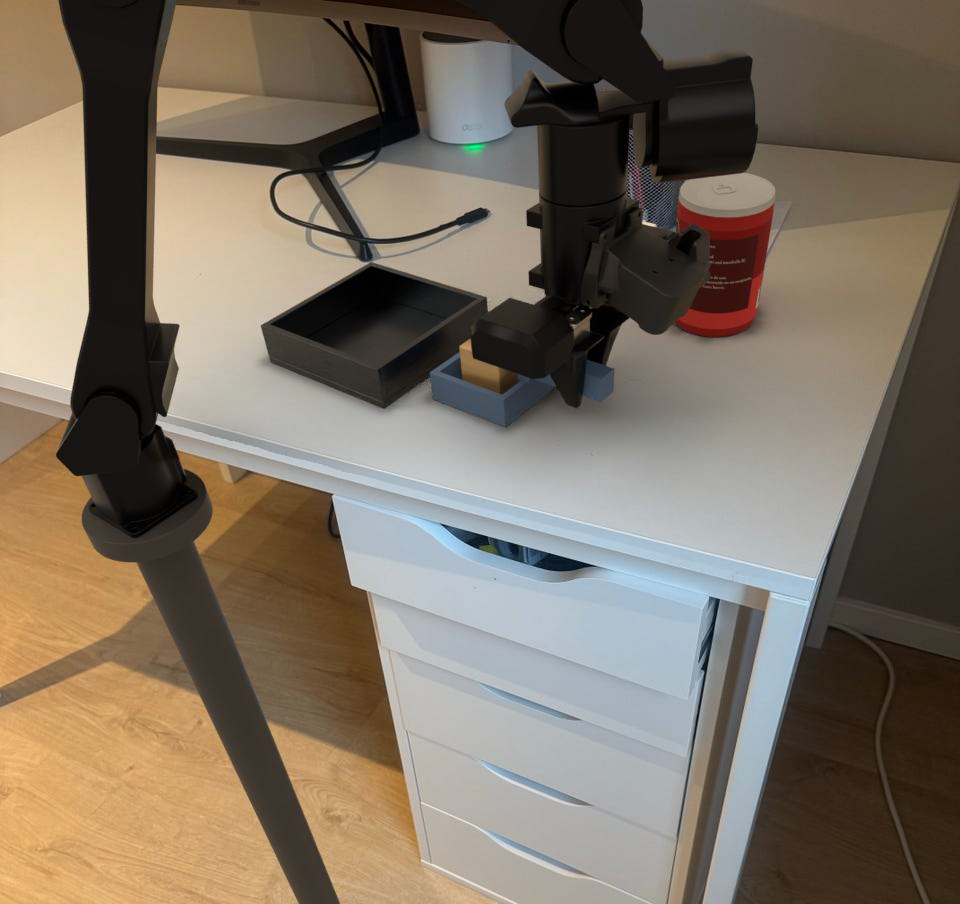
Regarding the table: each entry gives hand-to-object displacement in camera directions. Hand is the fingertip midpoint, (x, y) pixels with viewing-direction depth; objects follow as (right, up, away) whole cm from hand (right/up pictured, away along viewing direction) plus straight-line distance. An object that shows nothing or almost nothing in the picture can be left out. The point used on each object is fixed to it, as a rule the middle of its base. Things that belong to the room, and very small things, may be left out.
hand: (581, 399), depth 70 cm
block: (-6, +2, +5) cm, 9 cm away
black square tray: (-17, +8, +12) cm, 22 cm away
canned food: (+13, +10, +11) cm, 20 cm away
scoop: (-4, +1, +4) cm, 5 cm away
